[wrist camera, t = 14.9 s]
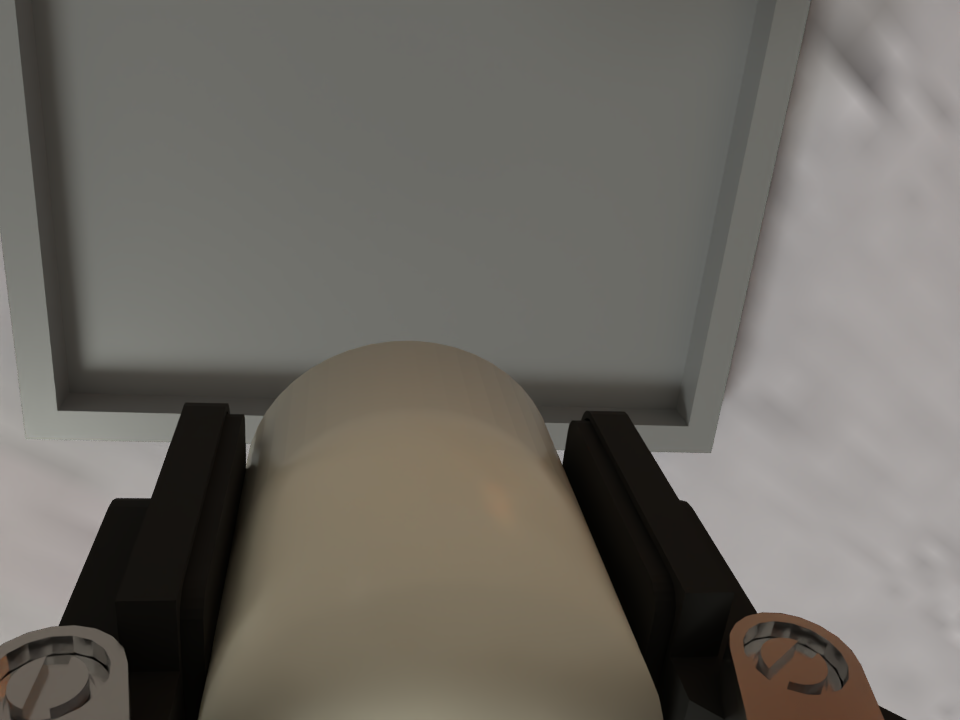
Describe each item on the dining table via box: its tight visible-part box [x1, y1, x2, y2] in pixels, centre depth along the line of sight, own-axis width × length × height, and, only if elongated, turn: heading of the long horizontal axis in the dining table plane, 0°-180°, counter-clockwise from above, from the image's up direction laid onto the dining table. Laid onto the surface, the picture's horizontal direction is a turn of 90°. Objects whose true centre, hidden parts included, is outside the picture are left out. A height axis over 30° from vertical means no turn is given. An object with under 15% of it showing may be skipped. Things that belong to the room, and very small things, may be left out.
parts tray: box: [0, 0, 811, 453], centre depth 21 cm, size 16×18×2 cm
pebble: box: [198, 341, 663, 720], centre depth 10 cm, size 4×4×5 cm
